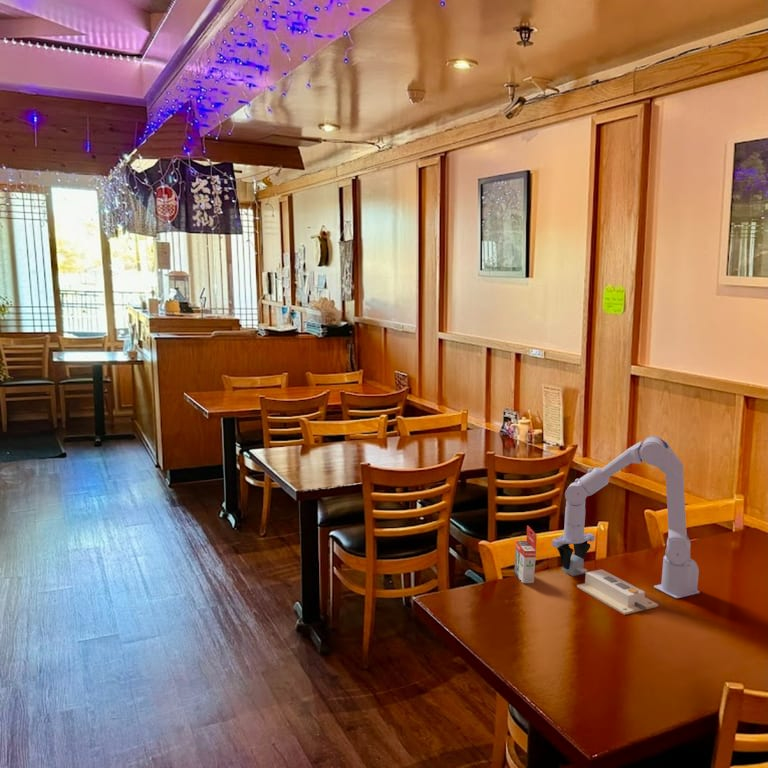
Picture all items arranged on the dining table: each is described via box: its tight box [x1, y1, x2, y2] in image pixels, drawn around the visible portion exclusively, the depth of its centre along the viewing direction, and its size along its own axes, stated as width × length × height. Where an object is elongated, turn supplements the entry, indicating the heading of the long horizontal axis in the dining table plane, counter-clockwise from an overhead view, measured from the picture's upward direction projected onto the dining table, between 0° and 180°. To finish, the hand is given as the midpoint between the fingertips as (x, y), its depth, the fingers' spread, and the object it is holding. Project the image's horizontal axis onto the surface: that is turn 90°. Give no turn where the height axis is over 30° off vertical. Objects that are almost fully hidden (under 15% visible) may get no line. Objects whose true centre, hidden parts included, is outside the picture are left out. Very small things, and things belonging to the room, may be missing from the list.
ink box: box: [513, 525, 537, 584], centre depth 195 cm, size 4×8×15 cm, turn 7°
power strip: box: [576, 569, 659, 615], centre depth 184 cm, size 12×19×4 cm, turn 26°
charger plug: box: [561, 553, 588, 577], centre depth 199 cm, size 4×8×4 cm, turn 26°
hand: (571, 566), depth 200 cm, fingers closed on charger plug, 4 cm apart
